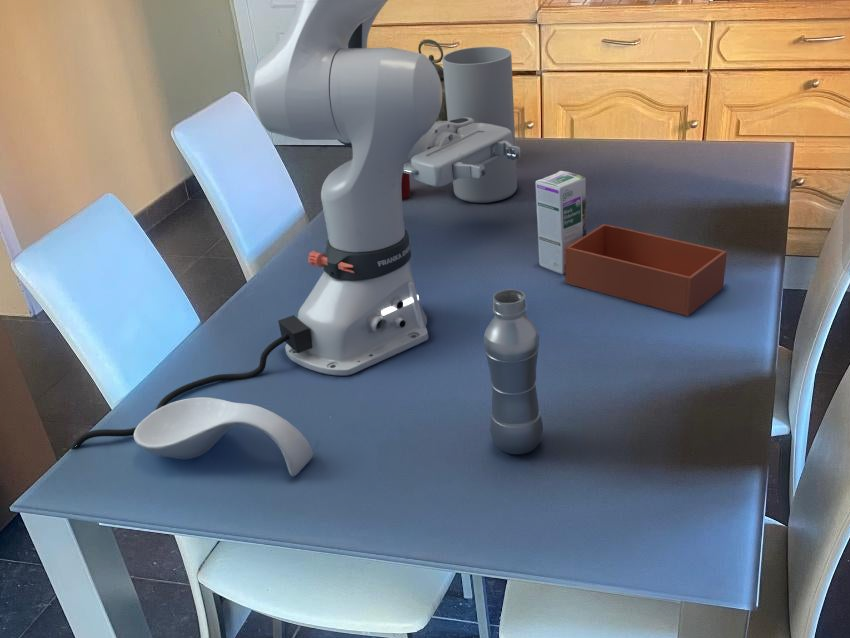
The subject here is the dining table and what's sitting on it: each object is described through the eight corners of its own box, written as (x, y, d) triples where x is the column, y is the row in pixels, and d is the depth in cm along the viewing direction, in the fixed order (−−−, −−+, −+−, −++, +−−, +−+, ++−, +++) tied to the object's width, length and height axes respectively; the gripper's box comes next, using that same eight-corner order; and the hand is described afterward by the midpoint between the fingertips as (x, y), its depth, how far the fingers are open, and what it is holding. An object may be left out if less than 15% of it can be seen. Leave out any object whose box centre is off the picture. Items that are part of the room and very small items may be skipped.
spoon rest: (122, 464, 118) (104, 416, 114) (177, 415, 127) (162, 369, 122) (282, 495, 111) (270, 446, 106) (329, 441, 119) (319, 393, 115)
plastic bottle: (505, 467, 112) (495, 316, 99) (482, 439, 117) (470, 292, 104) (553, 451, 114) (549, 301, 101) (528, 424, 119) (522, 278, 106)
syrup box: (563, 275, 152) (561, 187, 143) (537, 265, 156) (534, 178, 146) (587, 263, 155) (587, 176, 146) (561, 254, 158) (560, 168, 149)
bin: (723, 287, 144) (727, 251, 140) (687, 316, 138) (690, 278, 134) (603, 258, 156) (603, 223, 152) (565, 283, 150) (565, 247, 146)
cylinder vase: (496, 208, 177) (488, 66, 161) (442, 199, 183) (428, 61, 167) (528, 185, 185) (523, 49, 169) (475, 178, 191) (466, 45, 175)
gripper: (393, 149, 152) (457, 163, 144) (472, 114, 163) (536, 124, 156) (398, 188, 156) (461, 203, 148) (475, 150, 167) (537, 162, 160)
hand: (500, 162), depth 152 cm, fingers open, 8 cm apart
